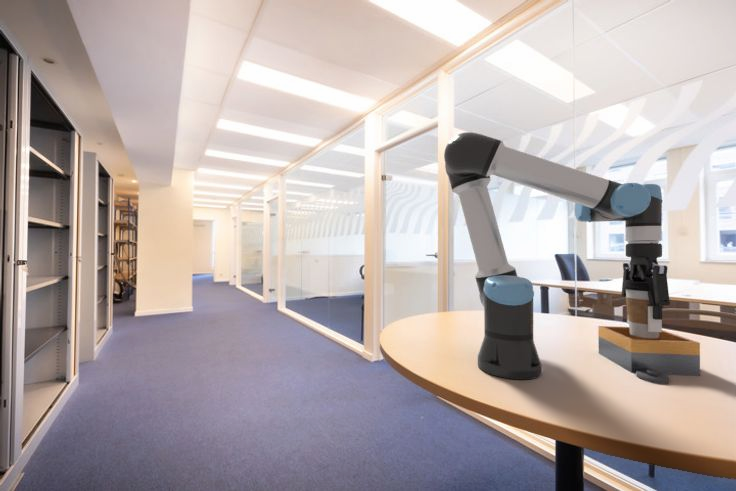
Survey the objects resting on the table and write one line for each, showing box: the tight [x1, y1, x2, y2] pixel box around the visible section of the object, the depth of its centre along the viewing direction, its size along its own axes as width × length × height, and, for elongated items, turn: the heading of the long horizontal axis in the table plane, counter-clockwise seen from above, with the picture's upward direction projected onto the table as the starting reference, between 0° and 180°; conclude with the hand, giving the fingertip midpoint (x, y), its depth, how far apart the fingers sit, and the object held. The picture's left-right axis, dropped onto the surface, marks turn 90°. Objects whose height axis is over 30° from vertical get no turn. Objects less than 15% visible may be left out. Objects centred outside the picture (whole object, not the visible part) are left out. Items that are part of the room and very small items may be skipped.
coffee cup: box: [624, 280, 659, 339], centre depth 88 cm, size 8×8×15 cm
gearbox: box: [597, 325, 701, 377], centre depth 88 cm, size 15×15×8 cm
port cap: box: [635, 369, 671, 385], centre depth 78 cm, size 6×6×2 cm
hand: (643, 327), depth 88 cm, fingers closed on coffee cup, 8 cm apart
